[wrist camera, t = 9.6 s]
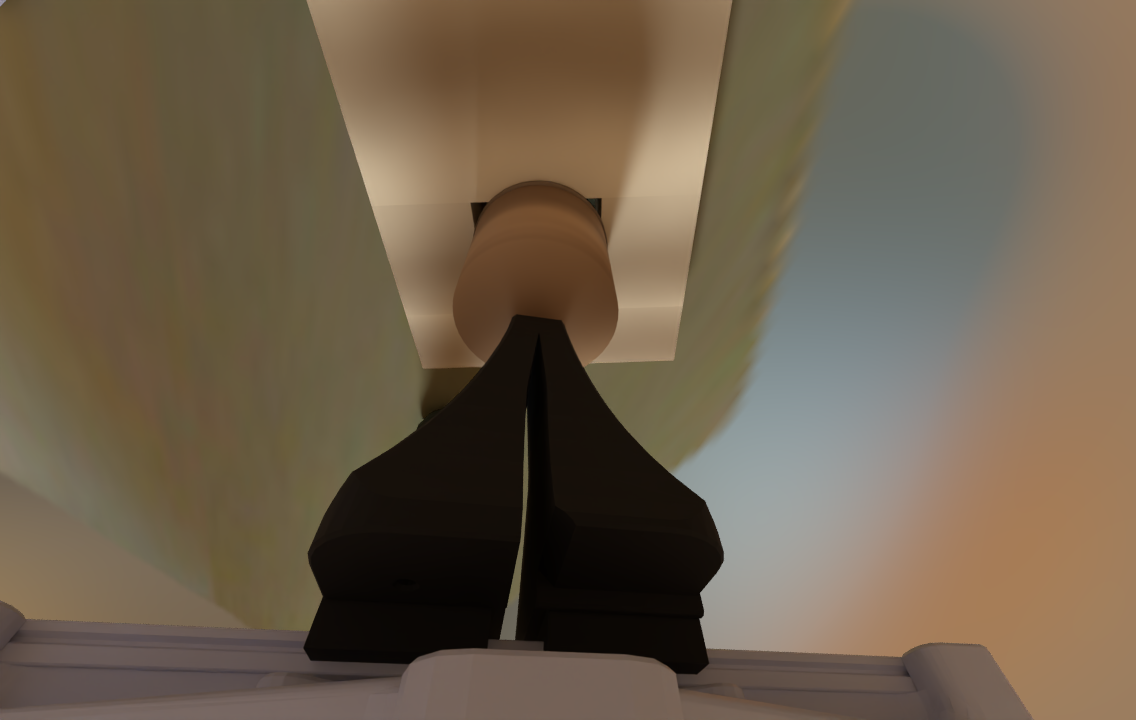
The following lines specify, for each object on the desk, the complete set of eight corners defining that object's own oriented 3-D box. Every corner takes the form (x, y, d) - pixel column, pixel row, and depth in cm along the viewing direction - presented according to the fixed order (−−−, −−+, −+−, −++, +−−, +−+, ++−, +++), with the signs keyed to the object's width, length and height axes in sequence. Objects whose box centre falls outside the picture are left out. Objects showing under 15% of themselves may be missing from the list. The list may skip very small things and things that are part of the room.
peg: (465, 173, 17) (421, 260, 11) (588, 142, 16) (604, 218, 11) (505, 281, 19) (485, 391, 14) (610, 258, 19) (631, 364, 13)
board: (303, -174, 11) (238, -217, 9) (727, -191, 11) (771, -238, 9) (437, 328, 22) (423, 368, 19) (661, 321, 22) (673, 360, 19)
